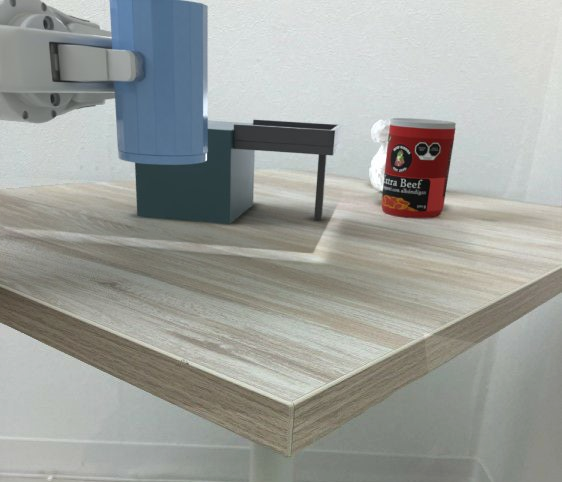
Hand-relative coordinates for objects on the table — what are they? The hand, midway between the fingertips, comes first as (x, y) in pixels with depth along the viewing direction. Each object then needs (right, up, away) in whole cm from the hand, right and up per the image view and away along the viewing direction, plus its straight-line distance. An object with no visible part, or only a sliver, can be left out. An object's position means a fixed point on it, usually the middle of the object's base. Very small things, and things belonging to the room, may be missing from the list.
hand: (171, 68), depth 44 cm
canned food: (+24, -1, +38) cm, 45 cm away
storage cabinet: (+3, -4, +28) cm, 28 cm away
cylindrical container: (-1, -5, +3) cm, 6 cm away
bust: (+24, +6, +53) cm, 58 cm away
